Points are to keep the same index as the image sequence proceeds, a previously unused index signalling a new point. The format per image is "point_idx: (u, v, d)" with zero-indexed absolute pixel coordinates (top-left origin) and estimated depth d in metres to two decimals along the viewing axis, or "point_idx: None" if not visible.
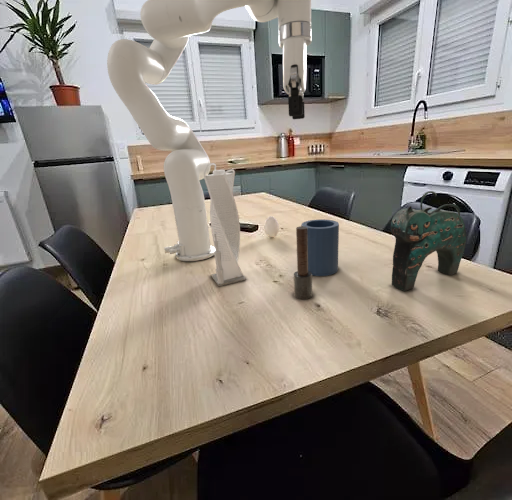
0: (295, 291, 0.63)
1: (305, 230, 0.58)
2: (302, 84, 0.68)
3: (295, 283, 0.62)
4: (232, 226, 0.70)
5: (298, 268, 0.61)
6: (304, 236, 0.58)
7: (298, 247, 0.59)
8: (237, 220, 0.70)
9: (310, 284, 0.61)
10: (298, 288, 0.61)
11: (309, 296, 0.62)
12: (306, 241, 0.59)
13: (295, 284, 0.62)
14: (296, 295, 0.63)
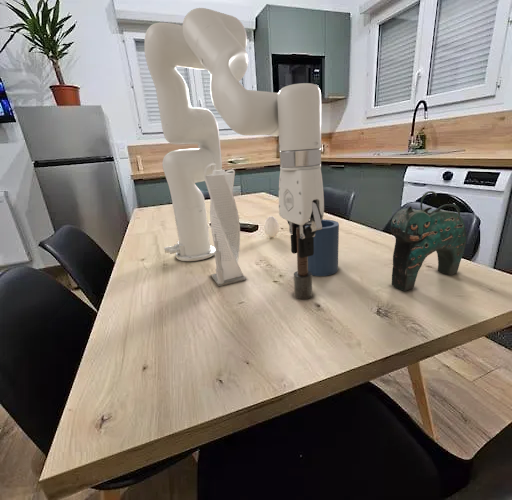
0: (295, 291, 0.63)
1: None
2: (321, 219, 0.55)
3: (295, 283, 0.62)
4: (232, 226, 0.70)
5: (298, 268, 0.61)
6: None
7: None
8: (237, 220, 0.70)
9: (310, 284, 0.61)
10: (298, 287, 0.61)
11: (309, 296, 0.62)
12: None
13: (295, 284, 0.62)
14: (296, 295, 0.63)
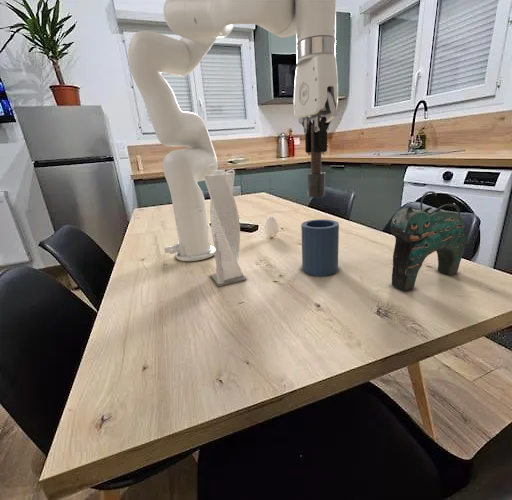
0: (309, 190, 0.66)
1: None
2: None
3: (309, 181, 0.65)
4: (232, 226, 0.70)
5: (312, 166, 0.65)
6: None
7: (312, 144, 0.63)
8: (237, 220, 0.70)
9: (323, 182, 0.65)
10: (312, 185, 0.65)
11: (322, 194, 0.66)
12: None
13: (309, 183, 0.65)
14: (310, 194, 0.66)
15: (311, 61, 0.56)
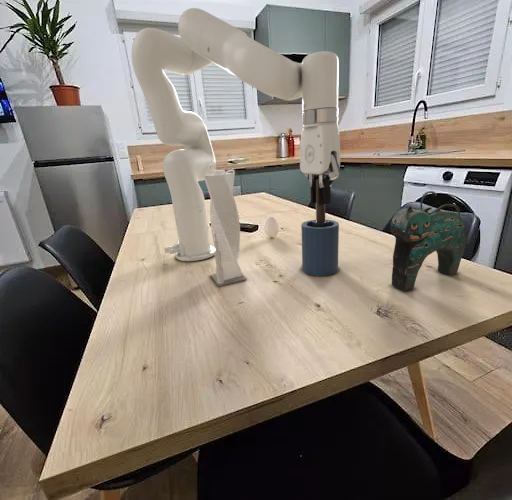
0: None
1: None
2: (338, 169, 0.65)
3: None
4: (232, 226, 0.70)
5: (317, 216, 0.71)
6: None
7: (317, 196, 0.70)
8: (237, 220, 0.70)
9: None
10: None
11: None
12: None
13: None
14: None
15: (316, 129, 0.62)
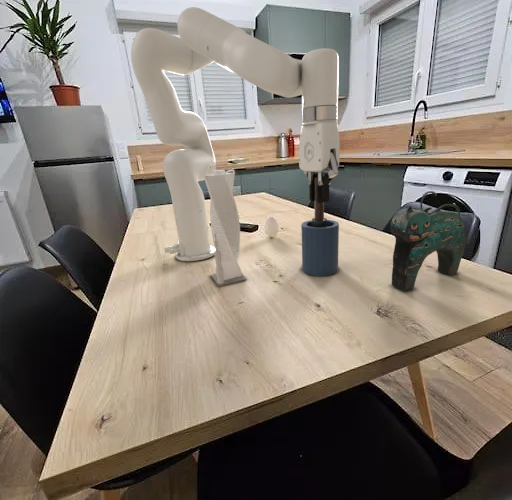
0: None
1: None
2: (337, 167, 0.65)
3: None
4: (232, 226, 0.70)
5: (315, 214, 0.71)
6: None
7: None
8: (237, 220, 0.70)
9: None
10: None
11: None
12: None
13: None
14: None
15: (316, 126, 0.62)
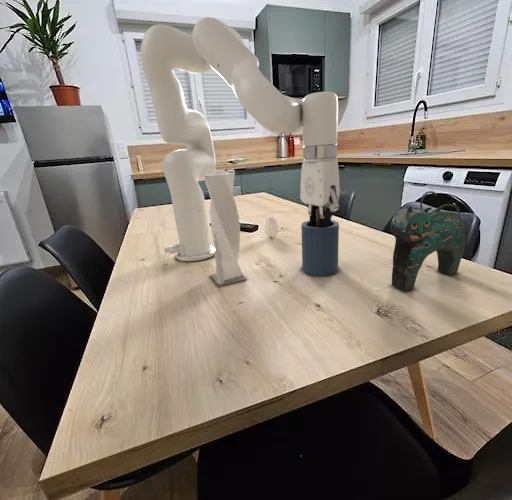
0: None
1: None
2: None
3: None
4: (232, 226, 0.70)
5: None
6: None
7: (317, 225, 0.72)
8: (237, 220, 0.70)
9: None
10: None
11: None
12: None
13: None
14: None
15: (316, 164, 0.65)
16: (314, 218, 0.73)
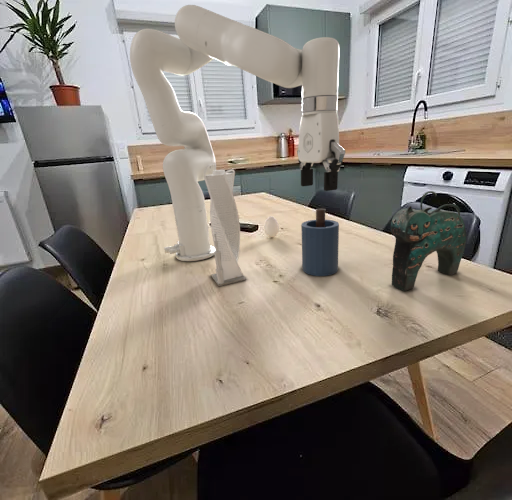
0: None
1: (323, 211, 0.70)
2: None
3: None
4: (232, 226, 0.70)
5: None
6: (322, 216, 0.71)
7: (317, 225, 0.72)
8: (237, 220, 0.70)
9: None
10: None
11: None
12: (324, 220, 0.71)
13: None
14: None
15: (315, 116, 0.62)
16: (305, 172, 0.72)
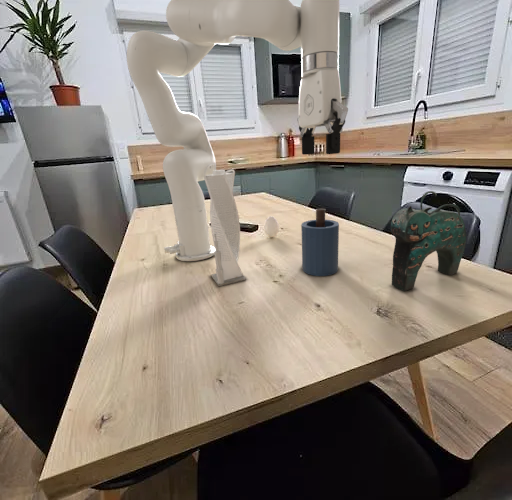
0: None
1: (323, 211, 0.70)
2: None
3: None
4: (232, 226, 0.70)
5: None
6: (322, 216, 0.71)
7: (317, 225, 0.72)
8: (237, 220, 0.70)
9: None
10: None
11: None
12: (324, 220, 0.71)
13: None
14: None
15: (316, 75, 0.59)
16: (306, 140, 0.70)
